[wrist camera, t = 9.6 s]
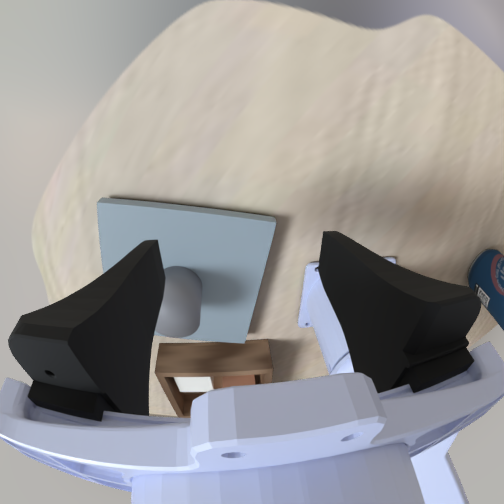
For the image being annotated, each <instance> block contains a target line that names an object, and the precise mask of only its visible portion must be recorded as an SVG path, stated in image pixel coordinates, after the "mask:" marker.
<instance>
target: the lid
mask: <svg viewBox="0 0 504 504" xmlns="http://www.w3.org/2000/svg"><path fill="white" fill-rule="evenodd" d="M97 213H98V227H99V239H100V249H101V257H102V265H103V273H105V272H106V271H107V270H109V269H110V268H111V267H112V266H114V265H115V264H116V263H117V262H119V261H120V260H121V259H122V258H123V257H125V256H126V255H127V254H128V253H129V252H130V251H132V250H133V249H134V248H135V247H136V246H138V245H139V244H140V243H141V242H143V241H144V240H157V239H158V243H159V248H160V253H161V258H162V263H163V268H164V272H165V277H166V280H165V289H164V296H163V301H162V305H161V308H160V312H159V316H158V320H157V324H156V328H155V332H154V335H158V336H166V337H172V338H183V339H192V340H203V341H215V342H228V343H245V340H246V336H247V333H248V329H249V325H250V322H251V318H252V314H253V311H254V307H255V303H256V300H257V296H258V292H259V288H260V285H261V281H262V277H263V273H264V269H265V266H266V262H267V258H268V254H269V250H270V246H271V242H272V239H273V235H274V231H275V227H276V220H275V218H274V217H271V216H264V215H257V214H250V213H242V212H235V211H227V210H219V209H211V208H203V207H194V206H185V205H176V204H167V203H157V202H147V201H137V200H126V199H114V198H101V199H100V200H99V201H98V202H97Z"/></svg>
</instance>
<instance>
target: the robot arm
mask: <svg viewBox="0 0 504 504" xmlns="http://www.w3.org/2000/svg"><path fill="white" fill-rule="evenodd" d="M316 267H318V269H315V268H316ZM165 280H166V277H165V272H164V268H163V263H162V258H161V253H160V248H159V243H158V239H157V240H144V241H143V242H141V243H140V244H139V245H138V246H136V247H135V248H134V249H133V250H132V251H130V252H129V253H128V254H127V255H126V256H125V257H123V258H122V259H121V260H120V261H119V262H117V263H116V264H115V265H114V266H112V267H111V268H110V269H109V270H107V271H106V272H105V273H104V274H102V275H101V276H100V277H98V278H97V279H96V280H94V281H93V282H91V283H90V284H88V285H87V286H85V287H83V288H82V289H80V290H78V291H76V292H75V293H73V294H71V295H69V296H68V297H66V298H64V299H62V300H60V301H58V302H56V303H53V304H51V305H49V306H47V307H44V308H42V309H39V310H36V311H33V312H31V313H28V314H25V315H22V316H21V318H20V319H19V321H18V323H17V325H16V326H15V328H14V330H13V332H12V333H11V335H10V337H9V339H8V343H9V348H10V350H11V352H12V354H13V356H14V357H15V359H16V360H17V361H18V363H19V364H20V365H21V366H22V368H23V369H24V370H25V371H26V372H27V374H28V375H29V376H30V377H31V378H32V379H33V383H32V386H31V387H30V386H29V385H27V384H26V383H23V382H20V381H17V380H14V379H11V378H6V379H5V381H4V384H3V386H2V389H1V391H0V438H1V439H2V440H3V441H5V442H6V443H8V444H9V445H10V446H12V447H13V448H15V449H16V450H18V451H20V452H21V453H23V454H24V455H26V456H27V457H29V458H32V459H34V460H36V461H38V462H41V463H43V464H45V465H48V466H50V467H53V468H55V469H57V470H60V471H63V472H65V473H68V474H70V475H73V476H76V477H79V478H82V479H85V480H88V481H92V482H94V483H98V484H101V485H105V486H108V487H112V488H116V489H120V490H124V491H129V492H132V498H131V504H469V502H468V500H467V497H466V494H465V492H464V489H463V486H462V484H461V482H460V479H459V477H458V474H457V472H456V469H455V467H454V465H453V463H452V460H451V458H450V456H449V454H448V450H449V448H450V446H451V445H452V443H453V441H454V440H455V438H456V436H457V434H458V432H459V431H460V430H462V429H463V428H465V427H466V426H468V425H470V424H471V423H473V422H474V421H476V420H477V419H479V418H480V417H481V416H483V415H484V414H485V413H486V412H487V411H488V410H490V409H491V408H492V407H493V406H494V405H495V404H496V403H497V402H498V401H499V400H500V399H501V398H502V397H503V396H504V362H503V360H502V359H501V357H500V356H499V354H498V353H497V351H496V350H495V348H494V347H493V345H492V344H491V343H490V342H486V343H484V344H482V345H480V346H478V347H476V348H474V349H473V350H472V351H470V353H469V351H468V350H467V348H466V347H467V346H468V345H469V342H468V340H467V339H466V337H465V336H466V335H467V333H468V332H469V330H470V328H471V327H472V325H473V324H474V322H475V320H476V318H477V316H478V314H479V312H480V308H481V300H480V298H479V296H478V295H477V294H476V293H475V292H474V291H473V290H472V289H471V288H470V287H466V286H461V285H456V284H451V283H446V282H443V281H439V280H435V279H432V278H429V277H426V276H423V275H420V274H418V273H415V272H412V271H410V270H407V269H405V268H403V267H401V266H399V265H396V260H395V259H394V258H393V257H387V258H383V257H381V256H379V255H377V254H375V253H374V252H372V251H370V250H369V249H367V248H365V247H364V246H362V245H360V244H359V243H357V242H355V241H354V240H352V239H350V238H349V237H347V236H345V235H343V234H342V233H339V232H337V231H323V238H322V245H321V252H320V259H319V262H316V263H309V264H308V265H307V266H306V268H305V276H304V283H303V291H302V298H301V304H300V311H299V317H298V326H299V327H300V328H304V327H313V328H314V331H315V334H316V337H317V339H318V342H319V345H320V348H321V351H322V354H323V357H324V360H325V363H326V366H327V369H328V372H329V375H327V376H321V377H315V378H309V379H302V380H294V381H286V382H278V383H268V384H257V385H244V386H231V387H226V388H220V389H214V390H210V391H208V392H206V393H205V394H203V395H201V396H199V397H197V398H196V399H194V400H193V402H192V407H191V418H173V417H155V416H149V371H150V358H151V348H152V342H153V336H154V332H155V328H156V324H157V320H158V316H159V312H160V308H161V305H162V301H163V296H164V289H165Z"/></svg>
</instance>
